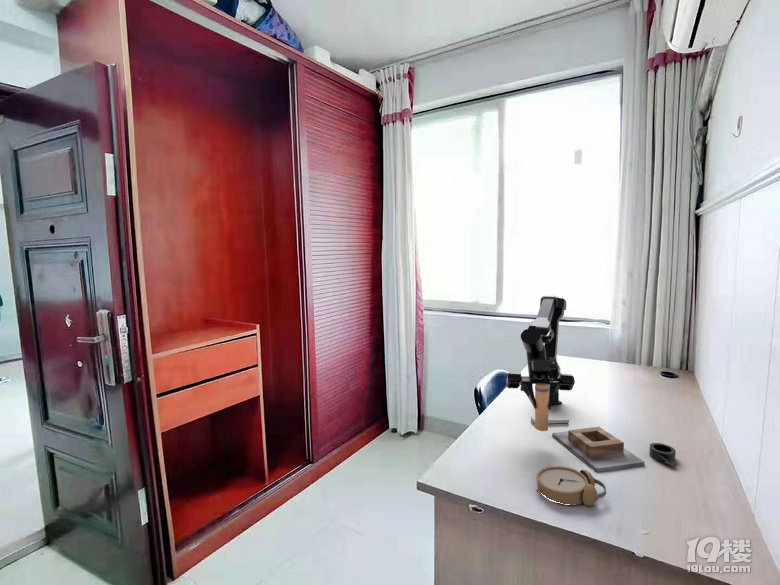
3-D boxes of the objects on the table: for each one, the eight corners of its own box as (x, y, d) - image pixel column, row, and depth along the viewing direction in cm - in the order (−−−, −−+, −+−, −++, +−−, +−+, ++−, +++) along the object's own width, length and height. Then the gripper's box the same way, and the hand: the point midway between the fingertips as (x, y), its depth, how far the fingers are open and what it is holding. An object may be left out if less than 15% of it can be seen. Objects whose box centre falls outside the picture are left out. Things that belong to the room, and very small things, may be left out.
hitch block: (552, 436, 121) (552, 423, 120) (593, 430, 123) (593, 418, 122) (596, 472, 101) (597, 457, 100) (644, 465, 103) (645, 450, 103)
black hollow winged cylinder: (640, 460, 106) (641, 450, 106) (649, 446, 113) (650, 437, 113) (675, 471, 101) (676, 460, 100) (682, 456, 108) (683, 446, 107)
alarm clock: (535, 464, 101) (600, 464, 95) (539, 482, 101) (604, 483, 95) (534, 489, 90) (607, 491, 85) (538, 510, 91) (611, 512, 85)
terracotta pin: (532, 426, 117) (532, 383, 115) (543, 424, 117) (544, 382, 116) (539, 431, 113) (539, 388, 111) (550, 430, 113) (551, 387, 112)
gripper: (507, 346, 118) (510, 395, 109) (573, 347, 114) (583, 398, 105) (505, 364, 127) (508, 411, 117) (567, 365, 123) (575, 414, 113)
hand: (542, 408), depth 113 cm, fingers closed on terracotta pin, 4 cm apart
